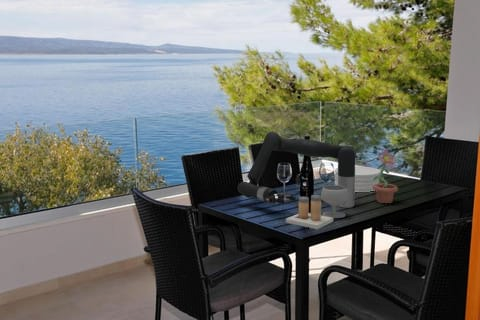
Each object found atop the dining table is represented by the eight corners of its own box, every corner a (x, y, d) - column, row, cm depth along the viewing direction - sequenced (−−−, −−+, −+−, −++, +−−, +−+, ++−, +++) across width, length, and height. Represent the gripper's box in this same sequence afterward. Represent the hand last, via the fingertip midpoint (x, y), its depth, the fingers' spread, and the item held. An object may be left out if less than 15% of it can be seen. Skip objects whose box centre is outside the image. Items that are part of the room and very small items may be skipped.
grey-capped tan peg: (301, 218, 273) (302, 196, 271) (310, 220, 270) (310, 197, 268) (296, 221, 269) (296, 198, 267) (305, 222, 266) (305, 199, 264)
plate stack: (346, 194, 324) (346, 176, 322) (327, 184, 351) (328, 167, 348) (387, 191, 330) (388, 173, 328) (366, 182, 357) (367, 165, 355)
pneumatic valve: (295, 192, 329) (295, 173, 327) (309, 189, 336) (310, 170, 334) (300, 193, 325) (301, 174, 323) (315, 191, 331) (315, 172, 329)
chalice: (344, 211, 286) (345, 184, 283) (350, 219, 272) (351, 190, 269) (318, 212, 285) (318, 184, 283) (323, 219, 272) (323, 190, 269)
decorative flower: (383, 206, 295) (385, 153, 290) (365, 201, 307) (367, 150, 301) (402, 203, 302) (405, 151, 297) (384, 198, 314) (386, 147, 309)
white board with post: (302, 215, 279) (302, 189, 276) (333, 221, 268) (334, 194, 266) (285, 222, 267) (286, 195, 264) (317, 229, 256) (317, 201, 253)
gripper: (257, 190, 281) (280, 195, 270) (276, 186, 291) (298, 191, 279) (257, 203, 283) (279, 210, 271) (276, 199, 292) (298, 205, 280)
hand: (289, 200), depth 275 cm, fingers open, 8 cm apart
